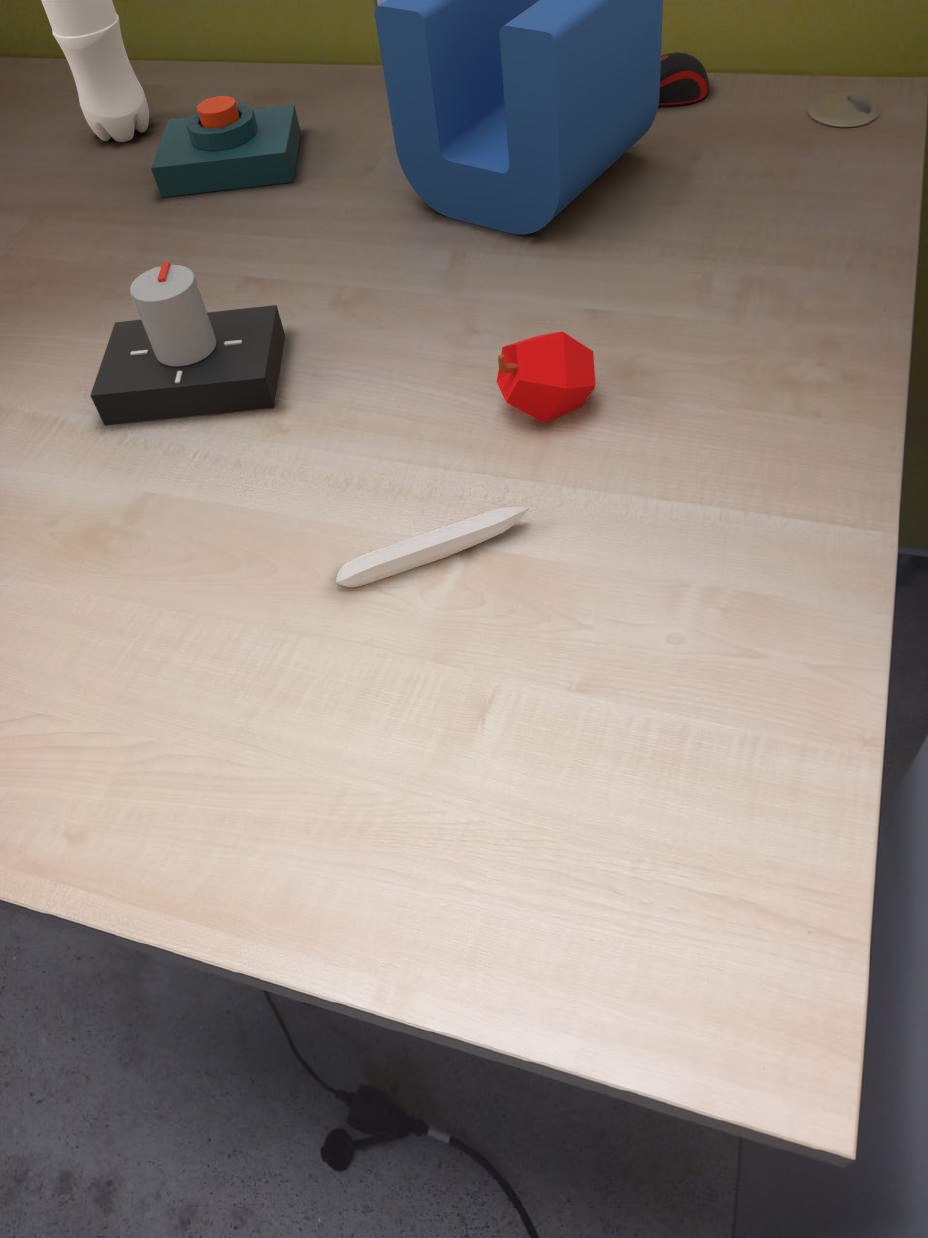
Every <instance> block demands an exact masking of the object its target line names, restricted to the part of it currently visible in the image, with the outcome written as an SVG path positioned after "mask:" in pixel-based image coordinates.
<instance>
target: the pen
mask: <svg viewBox="0 0 928 1238" xmlns="http://www.w3.org/2000/svg"><path fill="white" fill-rule="evenodd" d="M529 510H530V507H525V506H507V507H500V508H495V509H492V510H489V511H486V512H483V513H481V514H478V515H474V516H471V517H469V518H465V519H462V520H460V521H457V522H454V523H450V524H448V525H445V526H441V527H439V528H436V529H435V528H434V529H432V530H430V531H426V532H424V533H421V534H419V535H416V536H413V537H412V536H411V537H409V538H407V539H404V540H400V541H398V542H395V543H392V544H389V545H387V546H384V547H381V548H378V549H375V550H373V551H369V552H367V553H364V554H362V555H359V556H357V557H355V558H353V559H350V560H349V561H347V562H345V563H344V564H343V565H342V566H341V568H340V569H338V570H339V571H338V572H337V574H336V578H335V583H336V584H338V585H339V586H343V587H347V588H348V587H349V588H357V587H358V588H359V587H361V586H366V585H369V584H372V583H374V582H378V581H381V580H383V579H386V578H389V577H392V576H395V575H398V574H401V573H404V572H406V571H407V572H408V571H410V570H413V569H416V568H419V567H422V566H425V565H427V564H430V563H433V562H436V561H439V560H442V559H445V558H447V557H450V556H452V555H455V554H457V553H460V552H462V551H464V550H466V549H469V548H472V547H474V546H476V545H479V544H482V543H483V542H486V541H487V540H490V539H492V538H494V537H496V536H498V535H501V534H503V533H505V532H506V531H508V530H509V529H510V528H512V527H513V526H514V525H515V524H516V523H517V522H518V521H519V520H521V519H522V518H523V517H524V516H525V514H526V513H527V512H528V511H529Z"/></svg>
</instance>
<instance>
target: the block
mask: <svg viewBox="0 0 928 1238" xmlns="http://www.w3.org/2000/svg"><path fill="white" fill-rule="evenodd" d="M663 15H664V0H385V1H383V2H382V3H380V4H378V5H377V6H375V7H374V20H375V21H374V22H375V28H376V33H377V38H378V39H377V40H378V46H379V51H380V57H381V65H382V70H383V77H384V83H385V84H384V85H385V89H386V96H387V102H388V109H389V115H390V120H391V127H392V134H393V140H394V146H395V152H396V156H397V160H398V163H399V165H400V168H401V171H402V173H403V174H404V176H405V179H406V180H407V181H408V182H407V183H409V186H411V188H412V190H414V192H415V193H416V195H417V196H418V197H419V198H420V199H421V200H422V201H423V202H424V203H425V204H426V205H428V207H430V208H431V209H433V210H434V211H436V212H437V213H439V214H441V215H443V216H445V217H447V218H450V219H453V220H458V221H461V222H464V223H468V224H472V225H477V226H479V227H484V228H488V229H490V230H491V229H492V230H495V231H499V232H503V233H507V234H511V235H530V234H533V233H535V232H538V231H539V230H541V229H543V228H545V227H546V225H548V224H549V223H550V222H551V221H552V220H554V219H555V217H556V216H558V214H560V213H561V212H562V211H563V210H564V209H565V208H566V207H567V206H568V205H570V204H571V203H572V202H573V201H574V200H575V199H576V198H577V197H579V195H580V194H582V192H584V191H585V190H586V189H587V188H588V187H589V186H590V185H592V184H593V183H594V182H595V181H596V180H597V179H598V178H599V177H600V176H602V174H603V173H605V172H606V171H607V170H608V169H609V168H610V167H612V165H613V164H615V162H617V161H618V160H619V159H620V158H621V157H622V156H623V155H624V154H625V153H627V152H628V151H629V150H630V149H631V148H633V146H634V145H636V143H637V142H639V141H640V140H641V139H642V138H643V137H644V136H645V135H646V134H647V133H648V132H649V130H650V129H651V126H652V125H653V123H654V122H655V119H656V117H657V115H658V110H659V107H658V105H659V95H660V69H661V56H662V41H663Z"/></svg>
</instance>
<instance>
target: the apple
mask: <svg viewBox="0 0 928 1238" xmlns="http://www.w3.org/2000/svg"><path fill="white" fill-rule="evenodd" d="M594 356H595V355H594V351H593V350H592V349H590V348H589V347H588V346H586V345H584V344H583V343H582V342H580V341H579V340H577V339H576V338H573V337H572V336H571V335H569V334H567V333H566V332H565V331H557V332H556V331H555V332H551V333H545V334H540V335H536V336H533V337H529V338H526V339H523V340H520V341H517V342H513V343H510V344H507V345H504V346H502V347H501V352H500V354H499V355H497V361H498V370H497V376H496V384H497V386H498V388H499V391H500V392H501V395H502V397H503V399H504V402H505V403H506V404H508V405H509V406H511V407H513V408H515V409H517V410H518V411H520V412H522V413H524V414H525V415H527V416H528V417H529V416H530V417H531V418H533V419H535V420H537V421H538V422H540V423H542V424H544V425H545V424H548V423H550V422H553V421H554V420H557V419H559V418H561V417H563V416H565V415H568V414H570V413H573V412H574V411H577V410H579V409H581V408H583V406H584V404H585V402H586V401H587V399H588V398H589V397H590V395H591V394H592V392H593V391H594V390H595V387H596V386H597V383H596V371H595V370H596V369H595V357H594Z"/></svg>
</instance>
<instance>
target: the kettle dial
mask: <svg viewBox="0 0 928 1238" xmlns="http://www.w3.org/2000/svg"><path fill="white" fill-rule="evenodd" d="M198 285H199V284H198V282H197V279H196V277H195V273H194V271H192V269H191V268H189V267H187V266H184V265H179V264H171V263H170V261H162V263H161V266H156V267H153V268H151V269H148V270H146V271H144V272H143V273H141V274H140V275H138V276H137V277H136V278H135V279H134V280H133V281H132V283H130V287H129V292H130V295H131V298H132V300H133V303H134V306H135V309H136V311H137V312H138V316H139V318H140V320H142V323H143V325H144V328H145V330H146V333H147V335H148V338H149V340H150V343H151V345H152V348H153V350H154V353H155V355H156V358H157V359H158V360H159V361H160V362H161V363H163V364H165V365H168V366H177V367H178V366H186V365H190V364H194V363H196V362H199V361H201V360H203V359H204V358H206V357H207V356H208V355H210V354H211V353H212V351H213V350H214V348H215V346H216V338H215V335H214V332H213V329H212V326H211V323H210V320H209V317H208V314H207V308H206V306H205V302H204V300H203V297H202V294H201V292H200V287H199V286H198Z"/></svg>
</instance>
